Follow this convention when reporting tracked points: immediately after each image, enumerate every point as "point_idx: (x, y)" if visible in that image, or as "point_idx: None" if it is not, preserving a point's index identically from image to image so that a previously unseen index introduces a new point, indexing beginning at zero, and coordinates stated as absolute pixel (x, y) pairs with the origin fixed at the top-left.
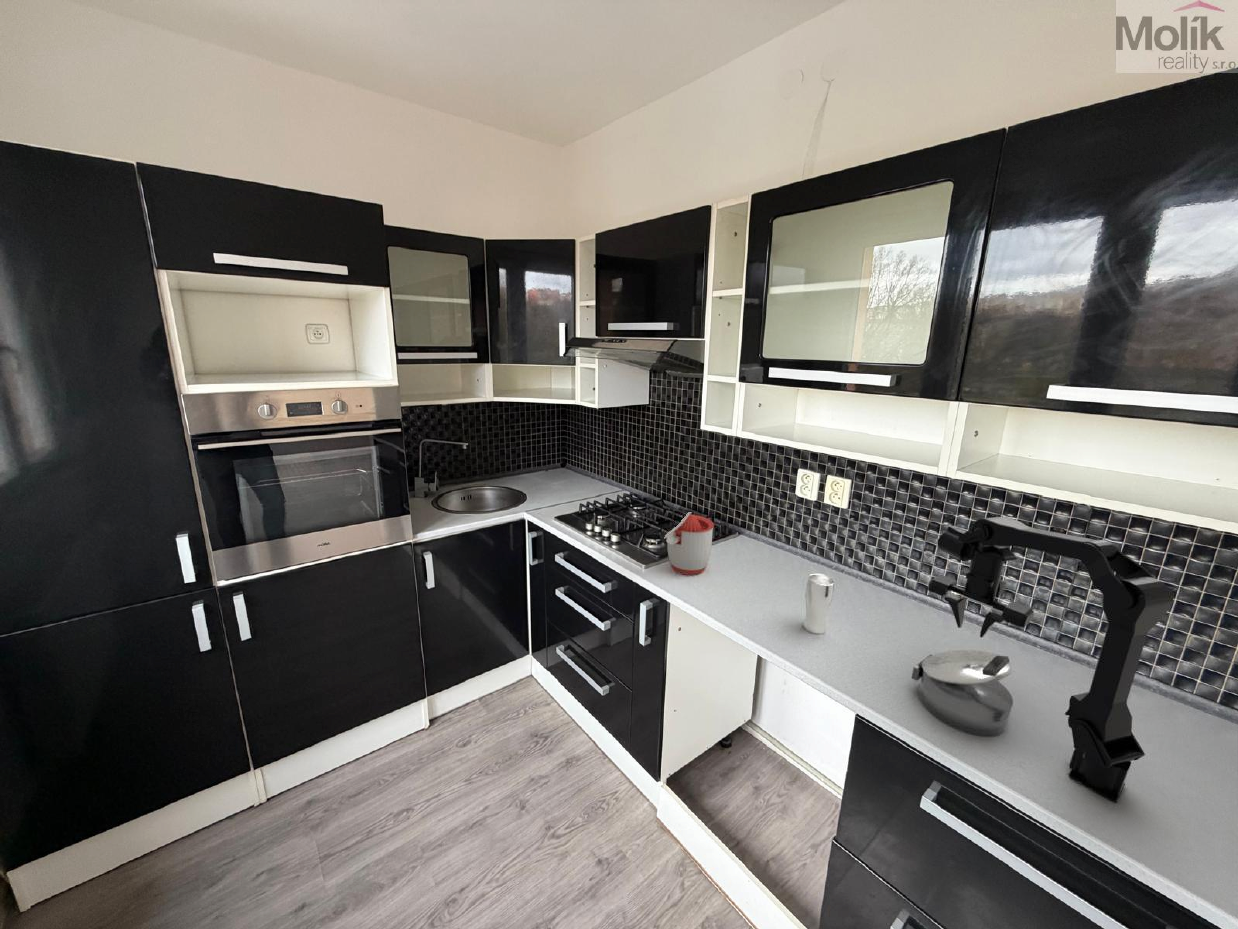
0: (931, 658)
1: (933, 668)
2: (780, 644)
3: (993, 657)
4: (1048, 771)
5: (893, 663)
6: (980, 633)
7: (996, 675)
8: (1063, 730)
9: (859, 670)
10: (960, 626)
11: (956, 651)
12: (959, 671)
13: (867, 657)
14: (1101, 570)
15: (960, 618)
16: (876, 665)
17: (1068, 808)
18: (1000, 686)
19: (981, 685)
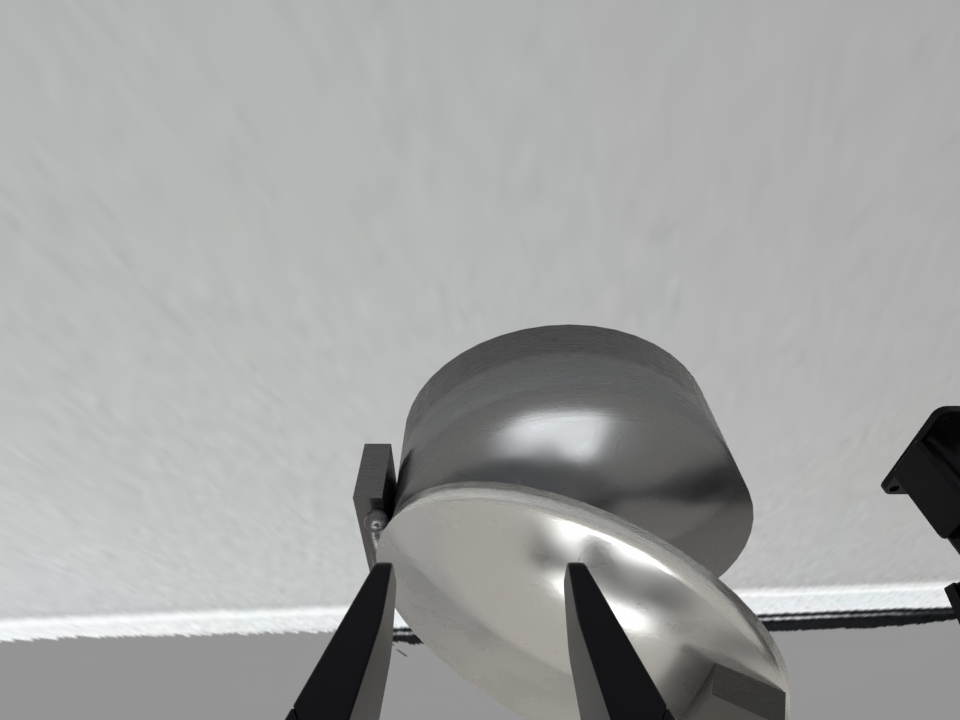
0: (395, 568)
1: (453, 650)
2: (13, 585)
3: (683, 630)
4: (823, 498)
5: (244, 407)
6: (569, 636)
7: None
8: (935, 269)
9: (230, 521)
10: (394, 596)
11: (457, 517)
12: (558, 699)
13: (168, 449)
14: None
15: (375, 715)
16: (228, 463)
17: (850, 560)
18: (698, 465)
19: (621, 514)
